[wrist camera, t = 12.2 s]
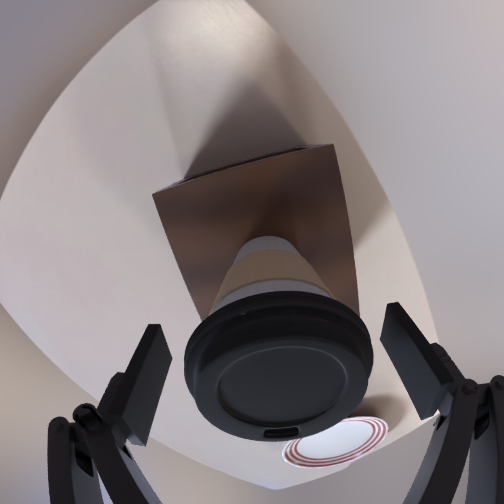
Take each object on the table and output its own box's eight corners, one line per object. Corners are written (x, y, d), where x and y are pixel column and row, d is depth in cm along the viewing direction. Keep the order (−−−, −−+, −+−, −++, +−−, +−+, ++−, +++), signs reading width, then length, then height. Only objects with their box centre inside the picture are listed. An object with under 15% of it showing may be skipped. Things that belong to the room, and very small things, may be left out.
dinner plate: (263, 432, 53) (264, 443, 50) (379, 392, 48) (384, 403, 45) (300, 466, 62) (301, 475, 59) (388, 436, 57) (391, 445, 54)
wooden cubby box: (183, 179, 33) (151, 194, 22) (307, 144, 31) (333, 143, 21) (225, 300, 39) (216, 353, 29) (333, 273, 38) (360, 319, 27)
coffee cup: (249, 323, 27) (247, 459, 13) (194, 247, 24) (132, 371, 10) (334, 280, 25) (398, 405, 11) (288, 193, 22) (347, 271, 8)
